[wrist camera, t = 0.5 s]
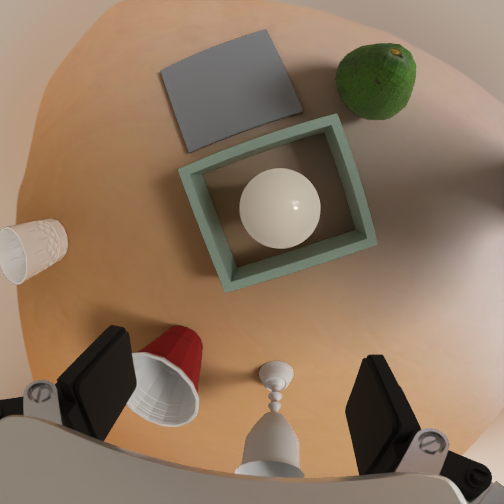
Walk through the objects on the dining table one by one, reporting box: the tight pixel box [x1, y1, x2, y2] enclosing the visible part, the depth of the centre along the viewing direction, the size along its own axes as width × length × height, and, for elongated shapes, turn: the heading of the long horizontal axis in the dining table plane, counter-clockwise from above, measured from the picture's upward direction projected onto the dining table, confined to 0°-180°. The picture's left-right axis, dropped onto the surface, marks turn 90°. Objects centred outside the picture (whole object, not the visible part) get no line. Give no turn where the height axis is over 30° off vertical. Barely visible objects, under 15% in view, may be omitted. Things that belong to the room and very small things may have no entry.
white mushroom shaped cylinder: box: [239, 168, 321, 249], centre depth 29 cm, size 7×7×9 cm
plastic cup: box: [127, 326, 203, 427], centre depth 33 cm, size 11×11×12 cm
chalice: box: [235, 361, 304, 478], centre depth 30 cm, size 7×7×18 cm
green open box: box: [178, 113, 378, 293], centre depth 30 cm, size 17×14×5 cm
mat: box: [161, 29, 303, 153], centre depth 30 cm, size 14×12×1 cm
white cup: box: [0, 218, 68, 285], centre depth 33 cm, size 8×8×10 cm
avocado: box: [335, 43, 416, 120], centre depth 23 cm, size 8×8×12 cm
